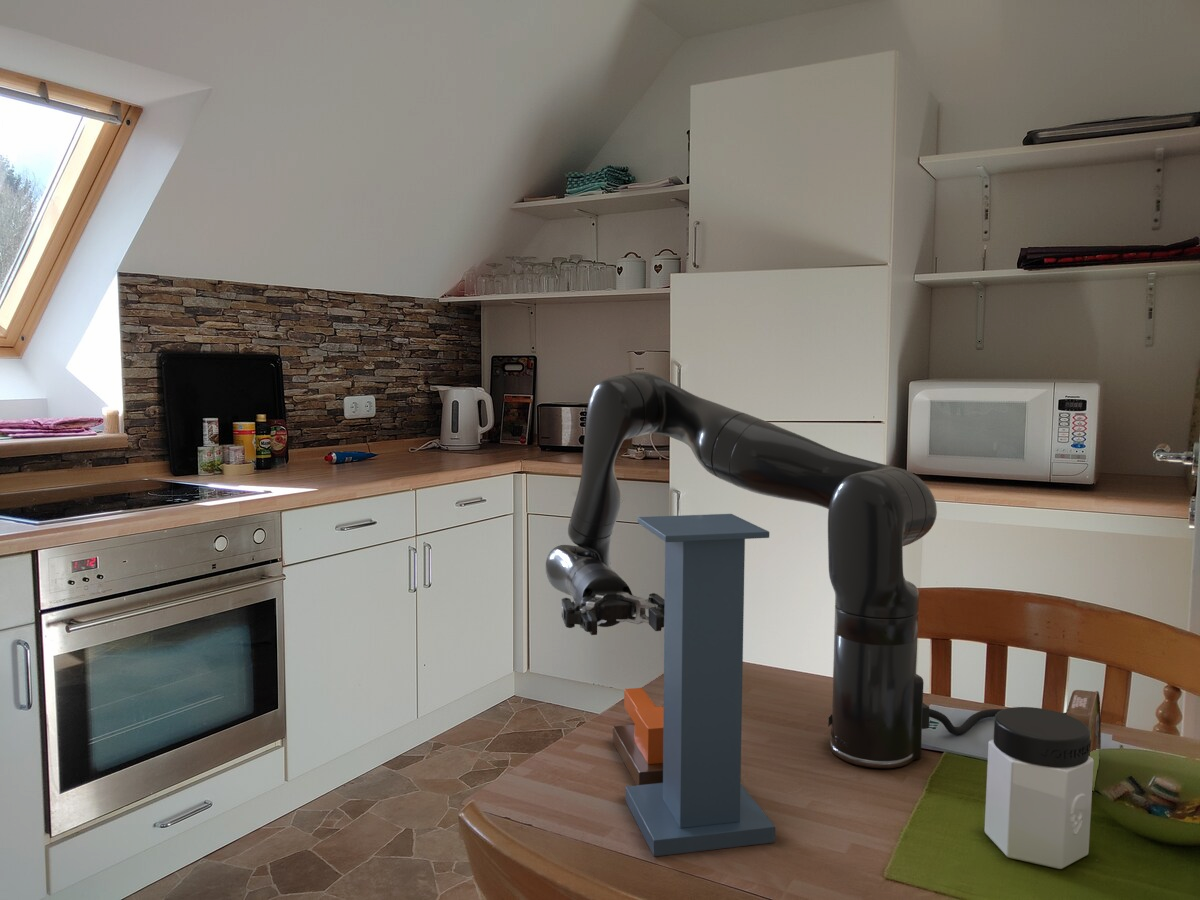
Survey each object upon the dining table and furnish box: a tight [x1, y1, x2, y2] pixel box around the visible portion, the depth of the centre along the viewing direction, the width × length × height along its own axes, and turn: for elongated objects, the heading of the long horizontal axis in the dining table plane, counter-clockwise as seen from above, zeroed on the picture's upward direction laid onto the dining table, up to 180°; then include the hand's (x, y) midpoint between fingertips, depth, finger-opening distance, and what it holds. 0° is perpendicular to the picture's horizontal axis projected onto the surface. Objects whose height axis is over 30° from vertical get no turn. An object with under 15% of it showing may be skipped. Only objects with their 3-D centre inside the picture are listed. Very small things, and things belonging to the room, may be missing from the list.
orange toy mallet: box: [623, 687, 664, 764], centre depth 108 cm, size 5×16×4 cm, turn 12°
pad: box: [612, 724, 663, 786], centre depth 105 cm, size 9×12×2 cm
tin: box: [1065, 689, 1102, 756], centre depth 102 cm, size 15×3×8 cm, turn 148°
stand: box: [625, 513, 776, 857], centre depth 90 cm, size 12×11×30 cm
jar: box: [983, 706, 1094, 870], centre depth 87 cm, size 9×8×12 cm
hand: (627, 625), depth 119 cm, fingers open, 8 cm apart
